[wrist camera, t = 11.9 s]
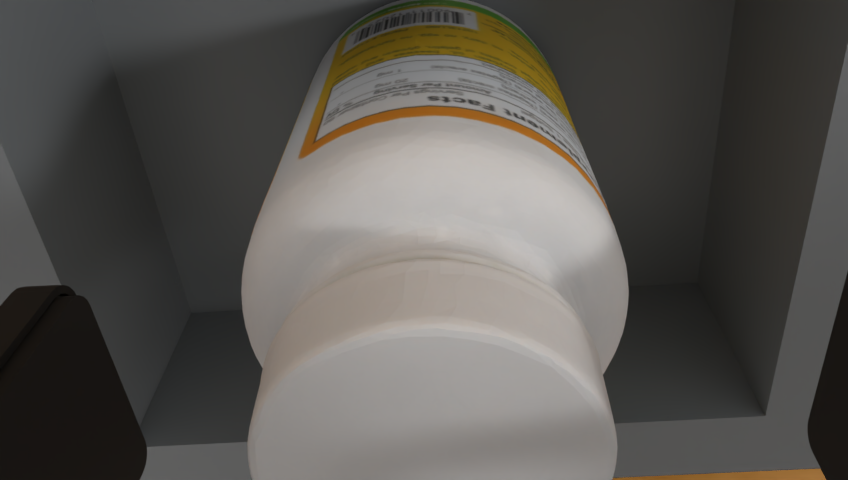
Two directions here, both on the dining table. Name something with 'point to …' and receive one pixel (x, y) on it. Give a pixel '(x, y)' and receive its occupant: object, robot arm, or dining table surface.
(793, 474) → the dining table surface
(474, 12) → the supplement bottle
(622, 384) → the box
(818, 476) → the dining table surface
